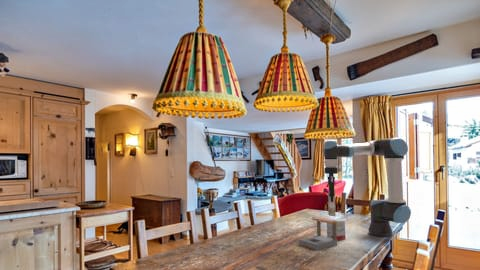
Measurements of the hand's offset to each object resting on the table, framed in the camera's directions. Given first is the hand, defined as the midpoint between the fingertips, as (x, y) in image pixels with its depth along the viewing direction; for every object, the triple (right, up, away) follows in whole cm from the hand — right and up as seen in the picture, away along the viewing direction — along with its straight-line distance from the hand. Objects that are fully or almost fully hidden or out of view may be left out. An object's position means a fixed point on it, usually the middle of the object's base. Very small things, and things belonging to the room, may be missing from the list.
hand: (331, 206), depth 179 cm
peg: (0, -5, 0) cm, 5 cm away
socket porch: (-7, -24, +4) cm, 25 cm away
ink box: (+8, -25, +18) cm, 32 cm away
